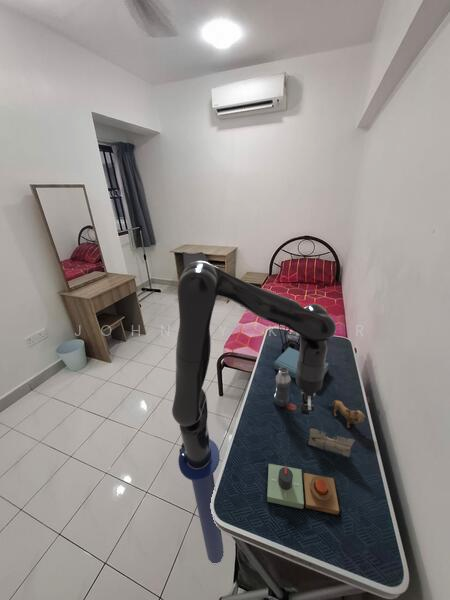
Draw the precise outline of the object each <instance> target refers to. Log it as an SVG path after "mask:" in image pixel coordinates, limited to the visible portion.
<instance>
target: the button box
mask: <svg viewBox="0 0 450 600" xmlns="http://www.w3.org/2000/svg"><path fill="white" fill-rule="evenodd" d="M318 479H322V480H324V481H325V482H326V483H327V486H328V490H327V493H326V494H325V495H321V494H319V493H318V492H317V491H316V489H315V483H316V481H317V480H318ZM302 483H303V496H304V507H305V509H310V510H313V511H319V512H322V513H327V514H328V513H329V514H333V515H337V516H339V513H340V507H339V502H338V496H337V490H336V483H335V478H334V477H329V476H323V475H316V474H313V473H306V472H303V473H302Z"/></svg>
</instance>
